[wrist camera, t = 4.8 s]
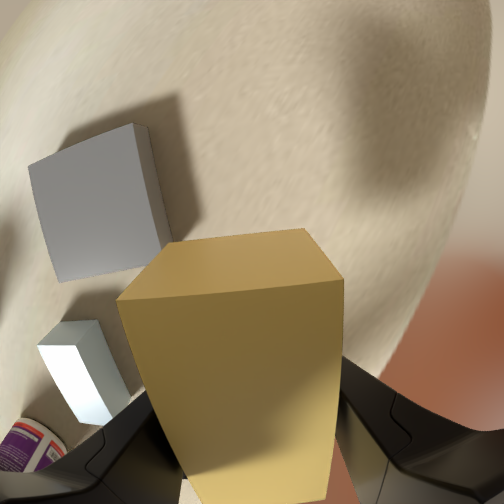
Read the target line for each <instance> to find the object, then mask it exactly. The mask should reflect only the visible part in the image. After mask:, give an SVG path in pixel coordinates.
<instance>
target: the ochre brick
mask: <svg viewBox="0 0 504 504" xmlns="http://www.w3.org/2000/svg"><path fill="white" fill-rule="evenodd" d="M115 301H116V304H117V308H118V311H119V315H120V318H121V321H122V324H123V328H124V331H125V334H126V337H127V340H128V343H129V346H130V349H131V352H132V355H133V357H134V360H135V363H136V366H137V368H138V371H139V374H140V376H141V379H142V381H143V384H144V387H145V389H146V392H147V394H148V396H149V399H150V401H151V404H152V406H153V408H154V411H155V413H156V415H157V418H158V420H159V422H160V424H161V426H162V429H163V431H164V433H165V435H166V437H167V439H168V441H169V443H170V445H171V447H172V449H173V451H174V453H175V455H176V457H177V459H178V461H179V463H180V465H181V467H182V469H183V471H184V473H185V475H186V476H187V478H188V480H189V482H190V484H191V485H192V487H193V489H194V491H195V492H196V494H197V496H198V497H199V499H200V501H201V502H202V504H296V503H304V502H311V501H318V500H324V499H325V497H326V492H327V485H328V480H329V474H330V467H331V460H332V454H333V446H334V438H335V430H336V421H337V412H338V401H339V390H340V377H341V362H342V343H343V315H344V278H343V277H342V276H341V275H340V273H339V272H338V271H337V269H336V268H335V267H334V265H333V264H332V263H331V261H330V260H329V259H328V258H327V256H326V255H325V254H324V252H323V251H322V250H321V249H320V247H319V246H318V245H317V243H316V242H315V241H314V240H313V238H312V237H311V236H310V235H309V233H308V232H307V231H306V230H305V228H301V229H291V230H281V231H271V232H261V233H252V234H243V235H233V236H224V237H215V238H206V239H197V240H189V241H180V242H172V243H168V244H167V245H166V246H165V247H164V248H163V249H162V250H161V251H160V252H159V254H158V255H157V256H156V257H155V258H154V259H153V260H152V261H151V262H150V263H149V264H148V265H147V266H146V267H145V268H144V269H143V271H142V272H141V273H140V274H139V275H138V276H137V277H136V278H135V279H134V280H133V281H132V283H131V284H130V285H129V286H128V287H127V288H126V289H125V290H124V291H123V293H122V294H121V295H120V296H119V297H118V298H117V299H116V300H115Z"/></svg>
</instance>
